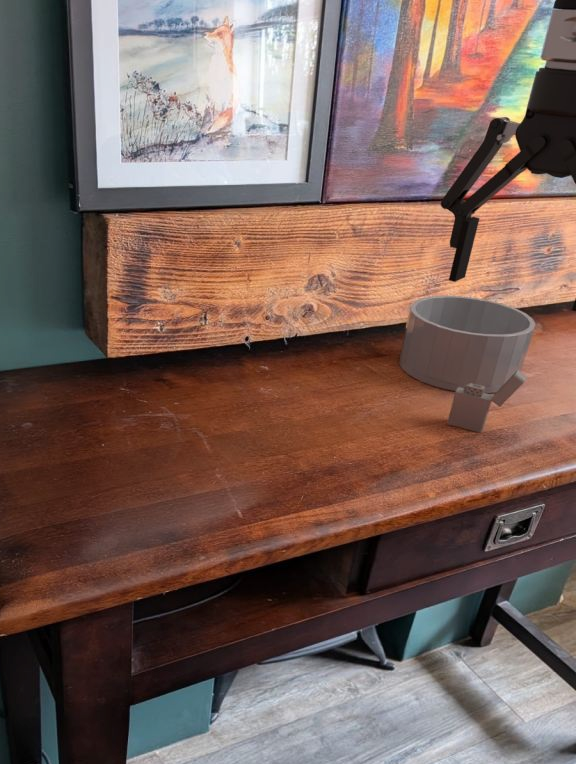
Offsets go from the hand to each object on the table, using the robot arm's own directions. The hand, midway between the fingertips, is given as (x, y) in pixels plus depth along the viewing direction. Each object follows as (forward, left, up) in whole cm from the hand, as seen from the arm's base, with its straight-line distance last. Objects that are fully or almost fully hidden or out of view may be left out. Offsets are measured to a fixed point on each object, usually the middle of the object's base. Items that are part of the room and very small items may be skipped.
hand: (515, 293), depth 81 cm
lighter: (0, 0, -17) cm, 17 cm away
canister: (+10, -16, -17) cm, 25 cm away
